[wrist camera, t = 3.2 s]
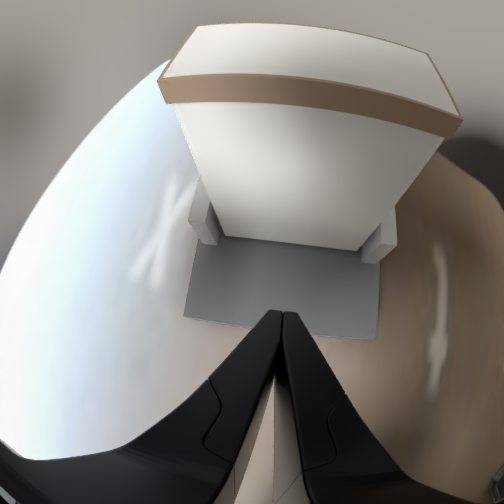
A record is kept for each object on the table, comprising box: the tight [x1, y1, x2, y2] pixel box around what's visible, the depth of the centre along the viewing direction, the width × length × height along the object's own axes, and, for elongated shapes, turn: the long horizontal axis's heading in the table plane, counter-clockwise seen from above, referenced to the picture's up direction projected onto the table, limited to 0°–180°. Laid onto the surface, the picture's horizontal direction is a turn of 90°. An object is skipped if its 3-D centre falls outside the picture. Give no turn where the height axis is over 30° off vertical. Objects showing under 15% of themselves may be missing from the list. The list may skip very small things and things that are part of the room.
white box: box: [157, 22, 463, 251], centre depth 10 cm, size 3×7×10 cm, turn 82°
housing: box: [184, 176, 397, 340], centre depth 15 cm, size 14×10×4 cm
